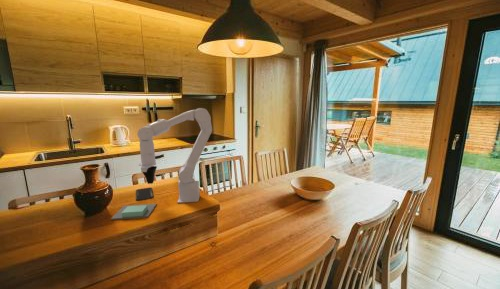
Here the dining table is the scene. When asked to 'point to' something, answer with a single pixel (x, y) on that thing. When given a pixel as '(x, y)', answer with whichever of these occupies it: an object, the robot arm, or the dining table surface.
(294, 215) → the dining table surface
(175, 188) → the dining table surface
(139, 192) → the phone
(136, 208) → the block
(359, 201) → the dining table surface
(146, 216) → the mat
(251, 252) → the dining table surface
